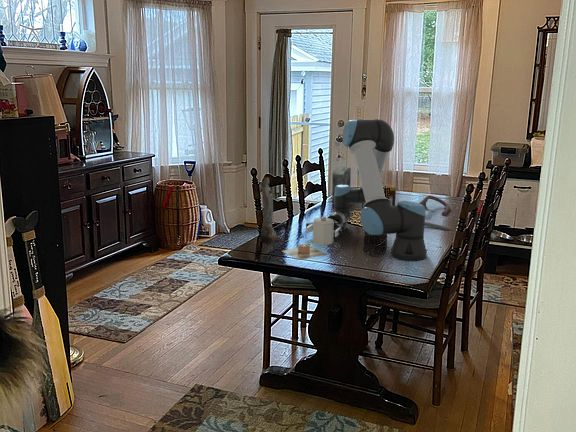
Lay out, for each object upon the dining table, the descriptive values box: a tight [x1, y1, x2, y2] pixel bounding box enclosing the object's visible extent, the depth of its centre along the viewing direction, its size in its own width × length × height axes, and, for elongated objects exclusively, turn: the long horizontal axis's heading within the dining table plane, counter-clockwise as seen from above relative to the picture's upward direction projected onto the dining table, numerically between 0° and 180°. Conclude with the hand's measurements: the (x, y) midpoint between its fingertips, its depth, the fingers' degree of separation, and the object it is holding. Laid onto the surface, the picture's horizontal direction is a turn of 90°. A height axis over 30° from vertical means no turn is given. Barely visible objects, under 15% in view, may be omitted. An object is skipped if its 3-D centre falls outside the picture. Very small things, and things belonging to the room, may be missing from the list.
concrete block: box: [331, 166, 352, 204], centre depth 329 cm, size 27×9×20 cm, turn 164°
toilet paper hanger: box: [418, 195, 451, 217], centre depth 311 cm, size 28×7×17 cm
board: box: [281, 246, 327, 261], centre depth 235 cm, size 14×14×1 cm
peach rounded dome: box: [297, 243, 311, 254], centre depth 235 cm, size 5×5×3 cm
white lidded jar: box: [312, 216, 335, 246], centre depth 249 cm, size 9×9×12 cm
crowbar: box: [424, 221, 451, 231], centre depth 284 cm, size 40×2×5 cm, turn 59°
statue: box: [259, 177, 279, 244], centre depth 252 cm, size 8×7×30 cm
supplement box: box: [361, 183, 397, 210], centre depth 304 cm, size 10×15×16 cm
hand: (321, 232), depth 247 cm, fingers open, 13 cm apart
